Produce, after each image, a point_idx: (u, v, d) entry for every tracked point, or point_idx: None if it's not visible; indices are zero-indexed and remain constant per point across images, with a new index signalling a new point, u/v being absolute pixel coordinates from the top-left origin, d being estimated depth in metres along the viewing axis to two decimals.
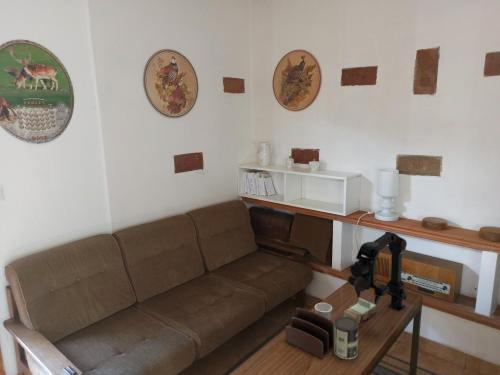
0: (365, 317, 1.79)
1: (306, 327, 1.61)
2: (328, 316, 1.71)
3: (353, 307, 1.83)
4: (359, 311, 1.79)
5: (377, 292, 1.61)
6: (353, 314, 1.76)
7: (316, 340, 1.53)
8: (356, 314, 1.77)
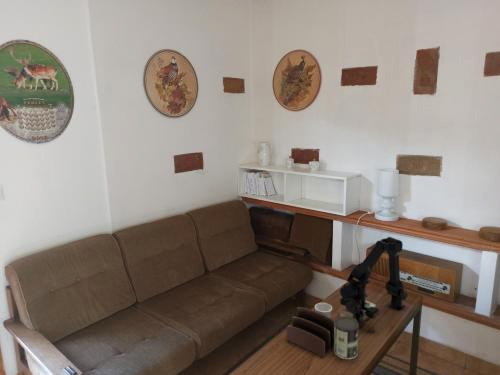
0: (365, 317, 1.79)
1: (307, 326, 1.62)
2: (328, 316, 1.71)
3: None
4: None
5: (368, 315, 1.67)
6: None
7: (318, 339, 1.54)
8: None
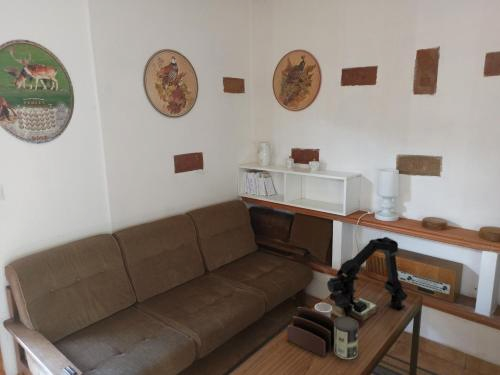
0: (365, 317, 1.79)
1: (308, 326, 1.62)
2: (328, 316, 1.71)
3: None
4: None
5: (356, 309, 1.72)
6: (339, 307, 1.83)
7: (318, 339, 1.54)
8: None
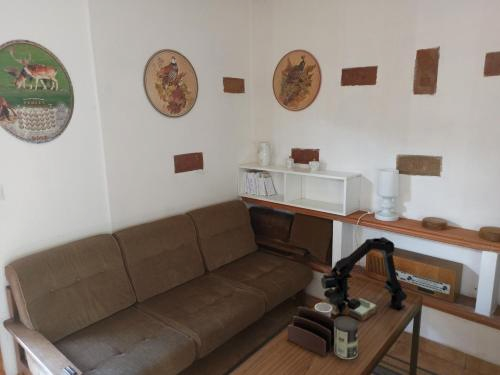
0: (365, 317, 1.79)
1: (308, 326, 1.62)
2: (328, 316, 1.71)
3: None
4: (359, 311, 1.79)
5: (349, 306, 1.75)
6: (333, 304, 1.86)
7: (319, 339, 1.54)
8: None
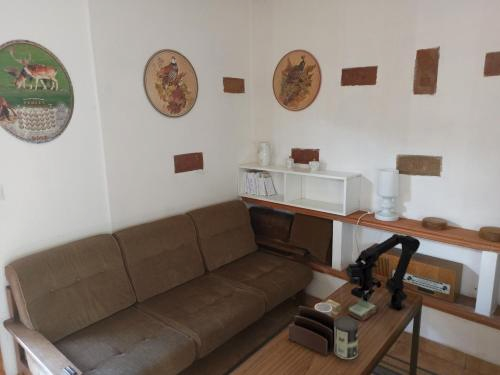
0: (365, 317, 1.79)
1: (309, 325, 1.63)
2: None
3: (352, 307, 1.83)
4: (358, 311, 1.79)
5: None
6: (333, 304, 1.86)
7: (320, 338, 1.55)
8: (336, 304, 1.86)
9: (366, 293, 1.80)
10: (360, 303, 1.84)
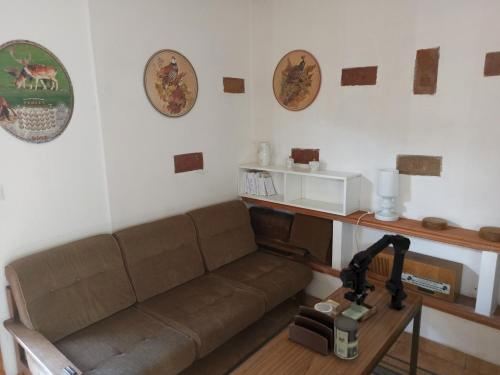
0: (365, 317, 1.79)
1: (310, 325, 1.63)
2: None
3: (345, 312, 1.79)
4: (351, 316, 1.76)
5: None
6: (333, 304, 1.86)
7: (320, 337, 1.55)
8: (336, 304, 1.86)
9: (359, 297, 1.77)
10: (353, 307, 1.81)
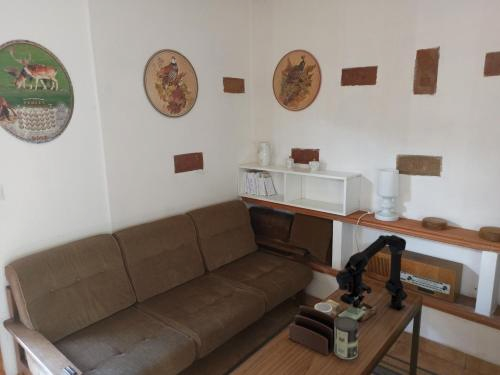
0: (365, 317, 1.79)
1: (310, 325, 1.63)
2: None
3: (342, 314, 1.77)
4: None
5: None
6: (333, 304, 1.86)
7: (321, 337, 1.55)
8: (336, 304, 1.86)
9: (356, 299, 1.75)
10: (350, 309, 1.79)
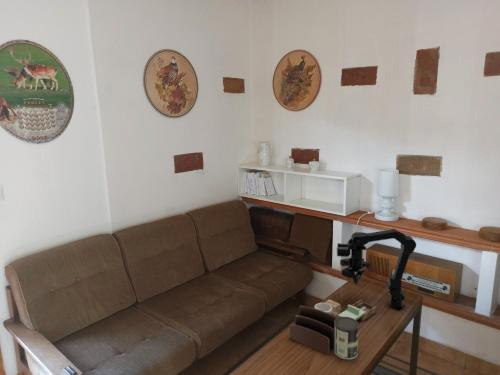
0: (365, 317, 1.79)
1: (311, 324, 1.63)
2: None
3: (342, 314, 1.77)
4: None
5: None
6: (333, 304, 1.86)
7: (322, 337, 1.55)
8: (336, 304, 1.86)
9: (356, 274, 1.86)
10: (350, 309, 1.79)
